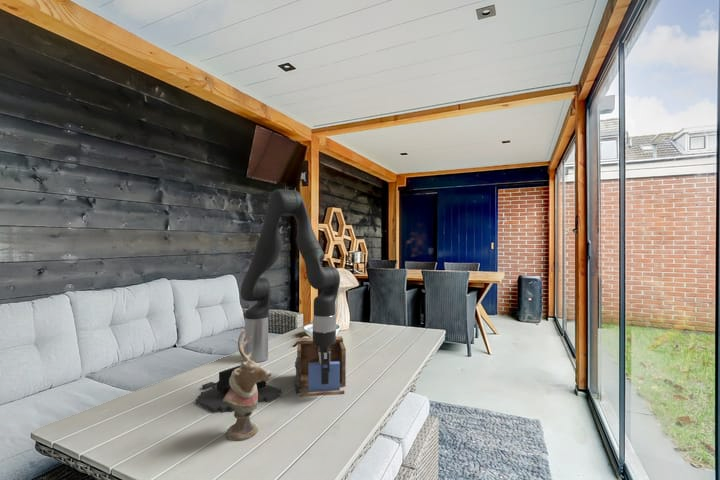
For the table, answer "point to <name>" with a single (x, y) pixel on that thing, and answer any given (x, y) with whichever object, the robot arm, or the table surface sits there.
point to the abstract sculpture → (215, 396)
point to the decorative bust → (244, 393)
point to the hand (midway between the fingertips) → (324, 378)
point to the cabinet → (309, 354)
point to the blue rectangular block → (315, 377)
